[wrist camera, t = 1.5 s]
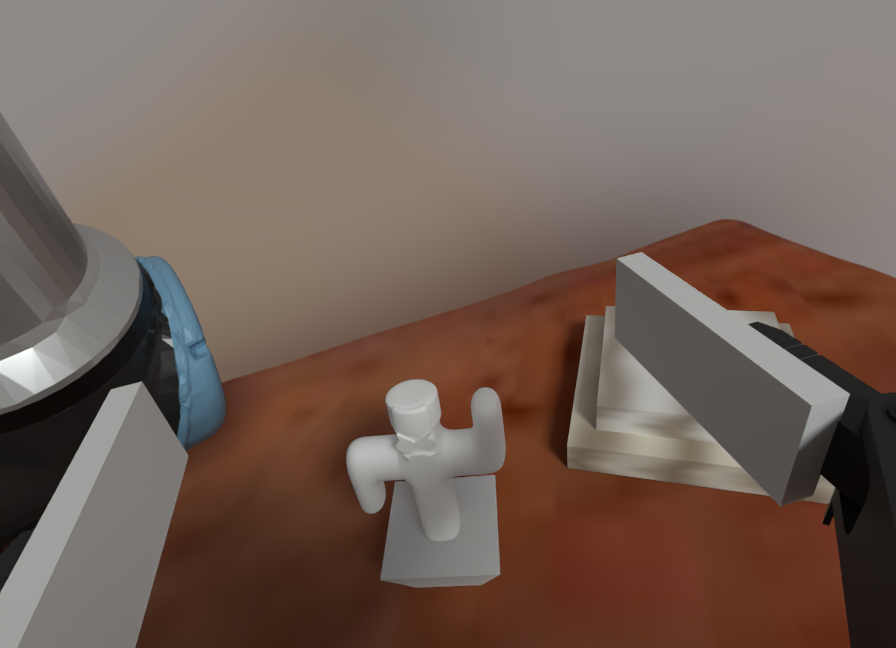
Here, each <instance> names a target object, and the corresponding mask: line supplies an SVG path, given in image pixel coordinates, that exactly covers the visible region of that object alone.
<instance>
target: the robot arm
mask: <svg viewBox="0 0 896 648" xmlns="http://www.w3.org/2000/svg"><path fill="white" fill-rule="evenodd" d="M615 338H616V339H617V340H618V341H619V342H620V343H621V345H622V346H623V347H624V348H625V349H626V350H627V351H628V352H629V353H630V354H631V355H632V356H633V357H634V358H635V359H636V360H637V361H638V362H639V363H640V364H641V365H642V366H643V367H644V368H645V369H646V370H647V371H648V372H649V373H650V374H651V375H652V376H653V377H654V378H655V379H656V380H657V381H658V382H659V383H660V384H661V385H662V386H663V387H664V388H665V389H666V390H667V391H668V392H669V393H670V394H671V395H672V396H673V397H674V398H675V399H676V400H677V402H678V403H679V404H680V405H681V406H682V407H683V408H684V409H685V410H686V411H687V412H688V413H689V414H690V415H691V416H692V417H693V418H694V419H695V420H696V421H697V422H698V423H699V424H700V425H701V426H702V427H703V428H704V429H705V430H706V431H707V432H708V433H709V434H710V435H711V436H712V437H713V438H714V439H715V440H716V441H717V442H718V443H719V444H720V445H721V446H722V447H723V448H724V449H725V450H726V451H727V452H728V453H729V454H730V455H731V456H732V458H733V459H734V460H735V461H736V462H737V463H738V464H739V465H740V466H741V467H742V468H743V469H744V470H745V471H746V472H747V473H748V474H749V475H750V476H751V477H752V478H753V479H754V480H755V481H756V482H757V483H758V484H759V485H760V486H761V487H762V488H763V489H764V490H765V491H766V492H767V493H768V494H769V495H770V496H771V497H772V498H773V499H774V500H775V501H776V502H777V503H778V504H779V505H780V506H783V505H786V504H789V503H792V502H795V501H798V500H801V499H804V498H807V497H810V496H813V495H814V492H815V489H816V487H817V484H818V481H819V478H820V476H821V475H822V476H823V477H824V478H825V479H826V480H827V481H829V482H830V483H831V484H832V485H833V486H834V487H835V489H834V492H833V494H832V497H831V500H830V502H829V505H828V507H827V510H826V512H825V515H824V519H823V524H825V525H830V522H831V520H832V517H833V516H834V520H835V528H836V535H837V543H838V551H839V559H840V567H841V574H842V582H843V590H844V598H845V606H846V613H847V621H848V629H849V637H850V645H851V648H896V393H891V392H890V393H885V394H881V393H879V392H878V391H876V390H875V389H873V388H872V387H870V386H868V385H867V384H865V383H864V382H862V381H861V380H859V379H858V378H856V377H854V376H853V375H851V374H850V373H848V372H847V371H845V370H844V369H842V368H840V367H839V366H837V365H836V364H834V363H833V362H831V361H830V360H828V359H826V358H825V357H823V356H822V355H820V356H818V354H817V352H816V351H814V350H812V349H811V348H809V347H808V346H806V345H802V344H801V342H800V341H798V340H797V339H795V338H794V337H792V336H791V335H789V334H787V333H786V332H784V331H783V330H781V329H778V328H775V327H772V326H769V325H767V324H764V323H761V322H758V321H757V322H753V323H750V324H746V323H745V322H743V321H742V320H740V319H739V318H738V317H736V316H735V315H733V314H732V313H730V312H729V311H727V310H726V309H724V308H723V307H721V306H720V305H718V304H717V303H715V302H714V301H713V300H711V299H710V298H708V297H707V296H705V295H704V294H702V293H701V292H699V291H698V290H696V289H695V288H693V287H692V286H690V285H689V284H688V283H686V282H685V281H683V280H682V279H680V278H679V277H677V276H676V275H674V274H673V273H671V272H670V271H668V270H667V269H665V268H664V267H662V266H661V265H660V264H658V263H657V262H655V261H654V260H652V259H651V258H649V257H648V256H646V255H645V254H643V253H642V252H640V253H636V254H632V255H629V256H625V257H621V258H617V270H616V305H615ZM225 414H226V402H225V396H224V392H223V388H222V384H221V381H220V377H219V374H218V371H217V368H216V365H215V362H214V359H213V357H212V354H211V352H210V350H209V349H208V347H207V346H206V340H205V338H204V335H203V332H202V328H201V325H200V323H199V320H198V318H197V315H196V313H195V311H194V309H193V307H192V304H191V302H190V300H189V298H188V296H187V294H186V292H185V290H184V288H183V286H182V284H181V282H180V280H179V278H178V277H177V275H176V273H175V272H174V270H173V268H172V267H171V266H170V264H168V262H167V261H166V260H164V259H163V258H161V257H156V256H152V257H135V258H134V257H133V255H132V254H131V252H130V251H129V250H128V249H127V248H126V247H125V246H124V245H123V244H122V243H121V242H119V241H118V240H117V239H116V238H114V237H112V236H110V235H108V234H107V233H105V232H103V231H100V230H97V229H95V228H92V227H88V226H84V225H80V224H74V223H72V222H71V220H70V219H69V217H68V216H67V214H66V213H65V211H64V210H63V208H62V207H61V205H60V203H59V202H58V200H57V199H56V197H55V196H54V194H53V193H52V191H51V190H50V188H49V186H48V185H47V183H46V182H45V180H44V179H43V177H42V176H41V174H40V173H39V171H38V170H37V168H36V166H35V165H34V163H33V162H32V161H31V159H30V157H29V156H28V154H27V153H26V151H25V150H24V148H23V146H22V145H21V143H20V142H19V140H18V139H17V137H16V136H15V134H14V133H13V131H12V130H11V128H10V126H9V125H8V124H7V122H6V120H5V119H4V117H3V116H2V114H1V113H0V648H135V647H136V643H137V640H138V636H139V632H140V629H141V625H142V622H143V618H144V615H145V611H146V607H147V604H148V600H149V597H150V593H151V589H152V586H153V582H154V579H155V575H156V571H157V568H158V564H159V561H160V557H161V554H162V550H163V546H164V543H165V539H166V536H167V532H168V528H169V525H170V521H171V518H172V514H173V510H174V507H175V503H176V500H177V496H178V493H179V489H180V485H181V482H182V478H183V475H184V471H185V467H186V464H187V460H188V457H189V456H188V454H187V453H186V450H188V449H190V448H192V447H193V446H195V445H197V444H199V443H200V442H202V441H204V440H206V439H207V438H209V437H211V436H212V435H214V434H215V433H216V432H217V431H218V430H219V428H220V427H221V426H222V424H223V422H224V419H225ZM14 539H15V540H14ZM12 540H14V541H12Z"/></svg>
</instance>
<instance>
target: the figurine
mask: <svg viewBox="0 0 896 648" xmlns="http://www.w3.org/2000/svg"><path fill="white" fill-rule="evenodd" d="M385 401H386V405H387V410H388V414H389V418H390V422H391V425H392V427H393V428H394V431H395V433H396V434H393V435H381V436H368V437H361V438H358V439H355V440H354V441H353V442H352V443H351V444H350V445H349V447H348V449H347V453H346V465H347V470H348V474H349V477H350V480H351V482H352V485H353V488H354V490H355V493H356V495H357V498H358V501H359V503H360V506H361V508H362V509H363V510H364V511H365V512H366V513H368V514H374V513H376V512H378V511H379V510H380V509H381V508H382V507H383V505H384V502H385V498H386V489H385V485H384V482H383V481H392V480H405V481H399V482H395V485H394V492H393V498H392V505H391V511H390V518H389V525H388V531H387V538H386V544H385V551H384V558H383V564H382V571H381V577H380V580H383V581H388V582H392V583H397V584H402V585H406V586H411V587H416V588H421V587H444V586H467V585H482V584H484V583H486V582H488V581H489V580H491V579H493V578H495V577H497V576H498V575H500V561H499V542H498V523H497V503H496V484H495V475H488V476H473V477H459V478H452V477H455V476H465V475H480V474H490V473H494V472H496V471H498V470H499V469H500V468H501V467H502V465H503V463H504V460H505V436H504V427H503V419H502V410H501V404H500V400H499V397H498V395H497V393H496V392H495V391H494V390H493V389H491V388H487V387H484V388H480V389H478V390H477V391H476V392H475V393H474V395H473V397H472V401H471V412H472V419H473V427H472V428H469V429H457V430H449V429H446V428H444V427H443V426H442V425H441V424H440V417H441V409H440V403H439V398H438V392H437V388H436V387H435V385H434V384H432V383H431V382H429V381H426V380H419V379H414V380H408V381H404V382H401V383H399V384H397V385H395V386H394V387H393V388H391V389H390V390H389V391H388V393H387V395H386V399H385Z"/></svg>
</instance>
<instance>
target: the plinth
mask: <svg viewBox="0 0 896 648" xmlns="http://www.w3.org/2000/svg"><path fill="white" fill-rule="evenodd" d="M727 311H729V310H727ZM729 312H730V313H732V314H733V315H735V316H736V317H738V318H739V319H740V320H742V321H743V322H745V323H746V324H750V323H753V322H757V321H758V322H761V323H764V324H767V325H769V326H772V327H775V328H778V329H781V330H783V331H784V332H786V333H787V334H789V335H791V336H792V337H794V335H793V333H792V330H791V328H790V325H789V324H780V323H778V322H777V319H776V316H775V314H774V312H758V311H729ZM567 464H568V468H572V469H580V470H587V471H594V472H601V473H608V474H616V475H623V476H630V477H637V478H644V479H652V480H659V481H666V482H673V483H680V484H688V485H695V486H702V487H709V488H717V489H724V490H731V491H738V492H745V493H753V494H760V495H767V496H770V495H769V494H768V493H767V492H766V491H765V490H764V489H763V488H762V487H761V486H760V485H759V484H758V483H757V482H756V481H755V480H754V479H753V478H752V477H751V476H750V475H749V474H748V473H747V472H746V471H745V470H744V469H743V468H742V467H741V466H740V465H739V464H738V463H737V462H736V461H735V460H734V459H733V458H732V456H731V455H730V454H729V453H728V452H727V451H726V450H725V449H724V448H723V447H722V446H721V445H720V444H719V443H718V442H717V441H716V440H715V439H714V438H713V437H712V436H711V435H710V434H709V433H708V432H707V431H706V430H705V429H704V428H703V427H702V426H701V425H700V424H699V423H698V422H697V421H696V420H695V419H694V418H693V417H692V416H691V415H690V414H689V413H688V412H687V411H686V410H685V409H684V408H683V407H682V406H681V405H680V404H679V403H678V402H677V400H676V399H675V398H674V397H673V396H672V395H671V394H670V393H669V392H668V391H667V390H666V389H665V388H664V387H663V386H662V385H661V384H660V383H659V382H658V381H657V380H656V379H655V378H654V377H653V376H652V375H651V374H650V373H649V372H648V371H647V370H646V369H645V368H644V367H643V366H642V365H641V364H640V363H639V362H638V361H637V360H636V359H635V358H634V357H633V356H632V355H631V354H630V353H629V352H628V351H627V350H626V349H625V348H624V347H623V346H622V345H621V343H620V342H619V341H618V340H617V339H616V338H615V306H606V315H605V316H586V322H585V329H584V336H583V342H582V349H581V356H580V363H579V369H578V376H577V383H576V389H575V396H574V403H573V409H572V416H571V423H570V430H569V436H568V443H567ZM834 489H835V487H834V486H833V485H832V484H831V483H830V482H829V481H827V480H826V479H825V478H824V477H823V476H822V475H821V476H820V478H819V481H818V484H817V487H816V489H815V492H814V495H813V496H810V497H807V498H804V499H801V500H803V501H810V502H818V503H825V504H829V502H830V500H831V497H832V494H833V492H834Z"/></svg>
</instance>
